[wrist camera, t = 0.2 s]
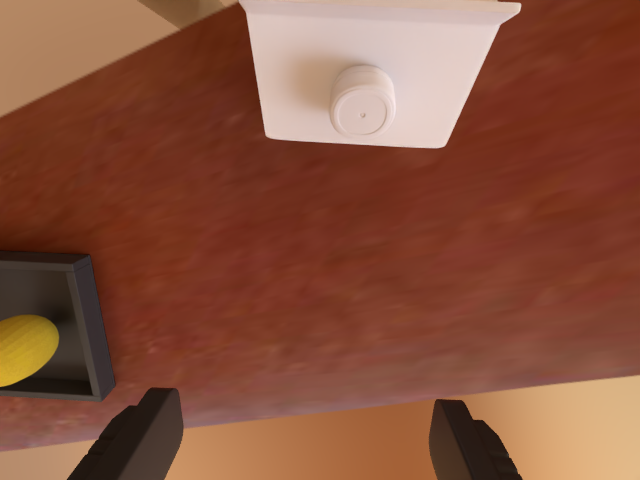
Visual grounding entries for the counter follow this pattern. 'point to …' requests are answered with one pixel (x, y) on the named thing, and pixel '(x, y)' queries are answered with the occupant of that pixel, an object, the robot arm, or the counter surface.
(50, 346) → the lemon
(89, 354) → the dark grey tray
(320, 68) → the milk carton
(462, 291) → the counter surface
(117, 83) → the counter surface
